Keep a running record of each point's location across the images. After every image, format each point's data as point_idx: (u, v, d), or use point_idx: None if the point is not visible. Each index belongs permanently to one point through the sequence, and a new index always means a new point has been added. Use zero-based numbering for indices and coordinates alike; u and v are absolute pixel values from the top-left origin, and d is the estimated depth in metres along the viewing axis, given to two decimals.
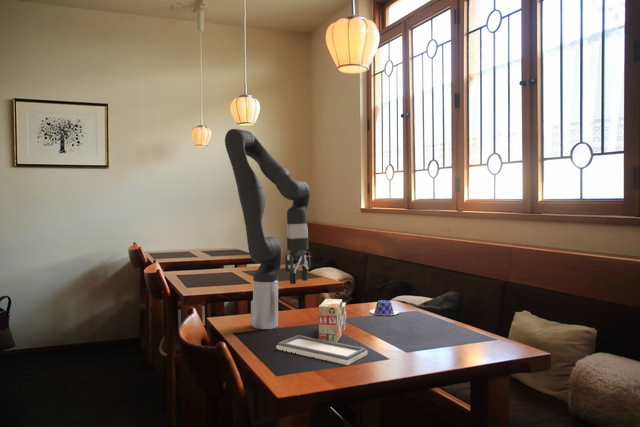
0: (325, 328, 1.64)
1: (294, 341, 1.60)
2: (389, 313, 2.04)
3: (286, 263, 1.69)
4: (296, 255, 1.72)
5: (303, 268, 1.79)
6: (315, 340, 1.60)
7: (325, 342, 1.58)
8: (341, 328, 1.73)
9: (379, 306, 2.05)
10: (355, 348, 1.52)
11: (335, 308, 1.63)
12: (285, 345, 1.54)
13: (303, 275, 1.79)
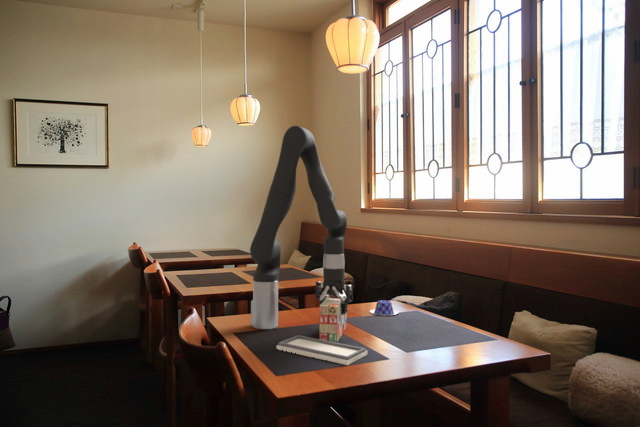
0: (325, 328, 1.64)
1: (294, 341, 1.60)
2: (389, 313, 2.04)
3: (349, 294, 1.69)
4: None
5: (323, 299, 1.76)
6: (315, 340, 1.60)
7: (325, 342, 1.58)
8: (341, 327, 1.74)
9: (379, 306, 2.05)
10: (355, 348, 1.52)
11: (336, 307, 1.63)
12: (285, 345, 1.54)
13: None
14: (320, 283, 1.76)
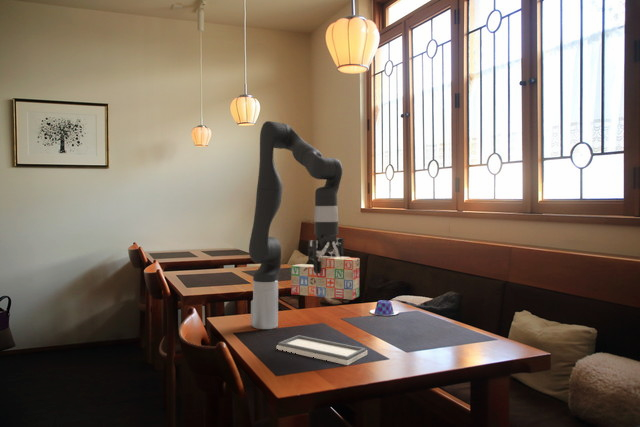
0: (355, 283, 1.52)
1: (294, 341, 1.60)
2: (389, 313, 2.04)
3: None
4: None
5: None
6: (315, 340, 1.60)
7: (325, 342, 1.58)
8: None
9: (379, 306, 2.04)
10: (355, 348, 1.52)
11: (359, 259, 1.55)
12: (285, 345, 1.54)
13: None
14: None
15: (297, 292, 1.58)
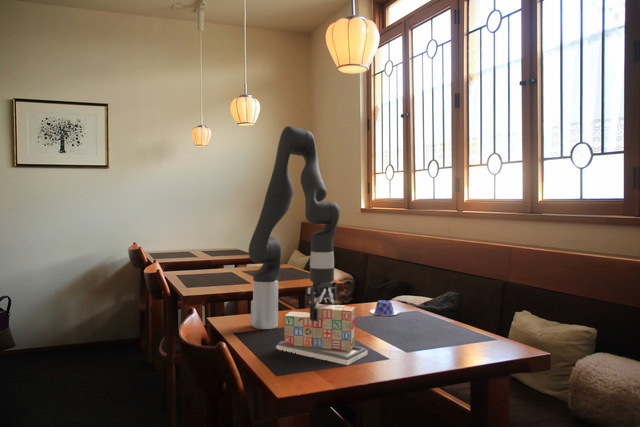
0: (352, 333, 1.50)
1: None
2: (390, 313, 2.04)
3: None
4: None
5: None
6: None
7: None
8: None
9: (380, 306, 2.04)
10: (355, 348, 1.52)
11: (354, 308, 1.53)
12: (285, 345, 1.54)
13: None
14: None
15: (291, 343, 1.53)
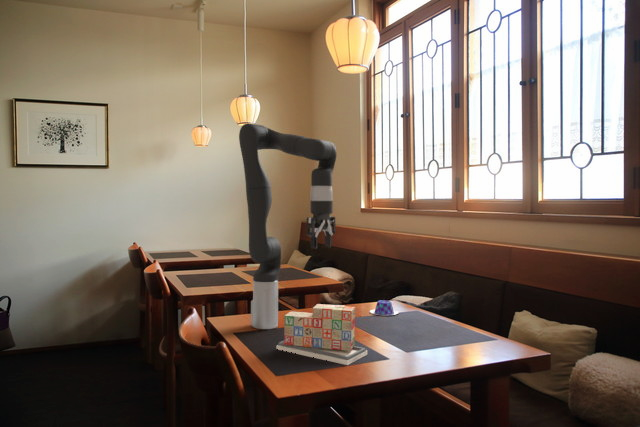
0: (352, 333, 1.50)
1: None
2: (391, 313, 2.04)
3: None
4: None
5: None
6: None
7: None
8: None
9: (381, 306, 2.04)
10: (355, 348, 1.52)
11: (354, 308, 1.53)
12: (285, 345, 1.54)
13: None
14: None
15: (291, 343, 1.53)
